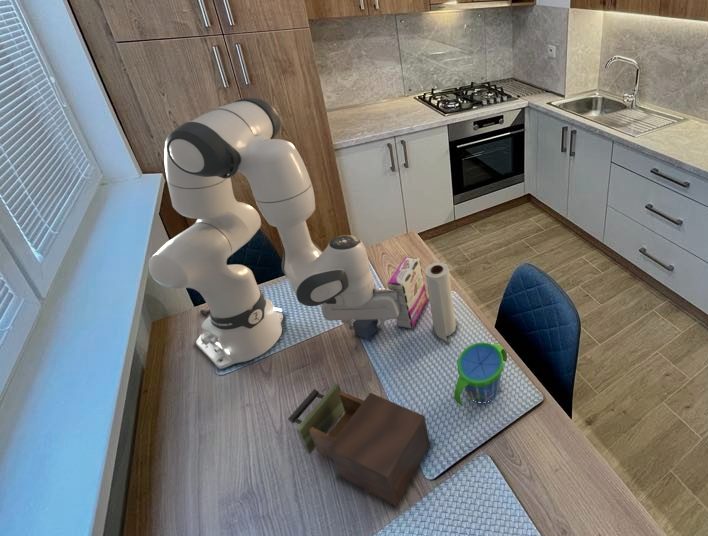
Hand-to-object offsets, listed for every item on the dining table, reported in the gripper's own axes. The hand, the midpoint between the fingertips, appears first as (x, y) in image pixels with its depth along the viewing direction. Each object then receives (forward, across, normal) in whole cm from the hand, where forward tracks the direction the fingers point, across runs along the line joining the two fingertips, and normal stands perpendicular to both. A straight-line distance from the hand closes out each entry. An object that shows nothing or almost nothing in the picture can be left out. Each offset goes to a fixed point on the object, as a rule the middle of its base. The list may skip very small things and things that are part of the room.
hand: (366, 327), depth 112 cm
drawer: (+1, -3, +28) cm, 28 cm away
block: (+2, 0, 0) cm, 2 cm away
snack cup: (+2, -34, +18) cm, 38 cm away
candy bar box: (+2, -11, -6) cm, 13 cm away
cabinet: (+2, -14, +33) cm, 36 cm away
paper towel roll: (+2, -21, 0) cm, 21 cm away
